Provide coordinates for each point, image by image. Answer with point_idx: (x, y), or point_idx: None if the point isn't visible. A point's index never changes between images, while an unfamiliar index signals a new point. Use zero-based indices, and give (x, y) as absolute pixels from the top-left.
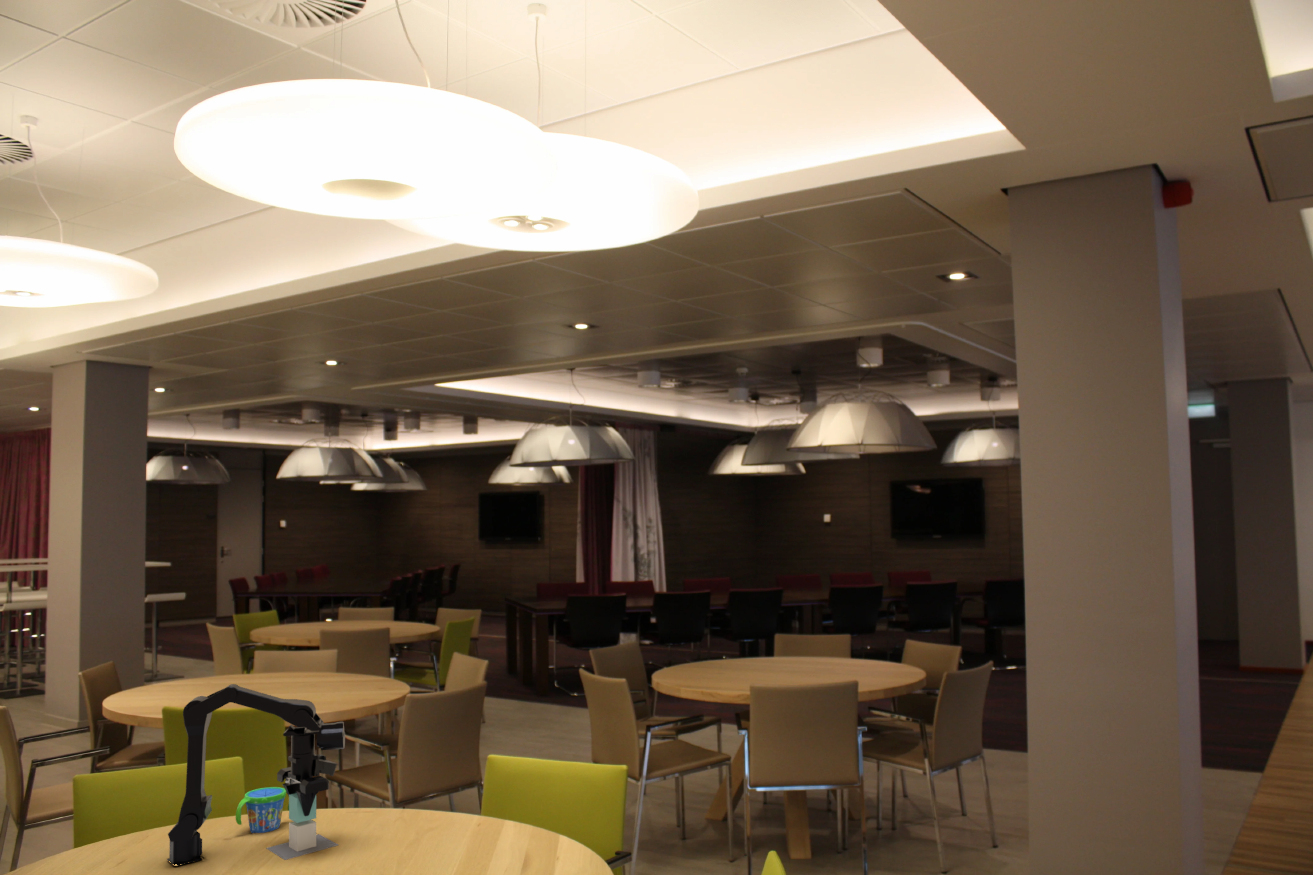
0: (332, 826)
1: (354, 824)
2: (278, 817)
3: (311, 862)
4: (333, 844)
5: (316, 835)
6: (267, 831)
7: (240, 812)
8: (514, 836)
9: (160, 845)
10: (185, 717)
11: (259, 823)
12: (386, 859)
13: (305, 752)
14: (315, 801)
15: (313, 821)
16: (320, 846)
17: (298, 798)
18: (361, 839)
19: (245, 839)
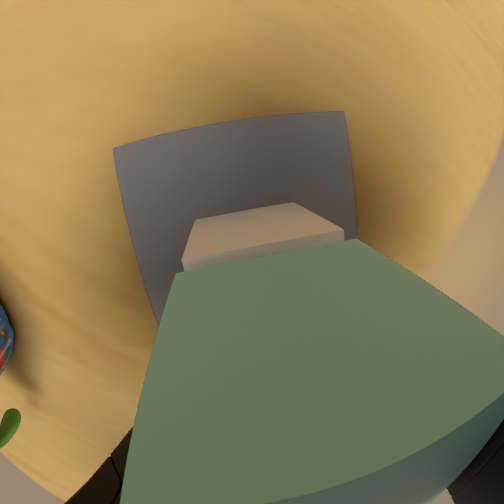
0: (38, 82)
1: (80, 3)
2: None
3: (415, 257)
4: (323, 128)
5: (126, 162)
6: (9, 325)
7: (7, 439)
8: None
9: (55, 467)
10: None
11: (2, 365)
12: (493, 81)
13: None
14: (459, 316)
15: (307, 242)
16: (309, 186)
17: (437, 495)
18: (299, 12)
19: (46, 380)
